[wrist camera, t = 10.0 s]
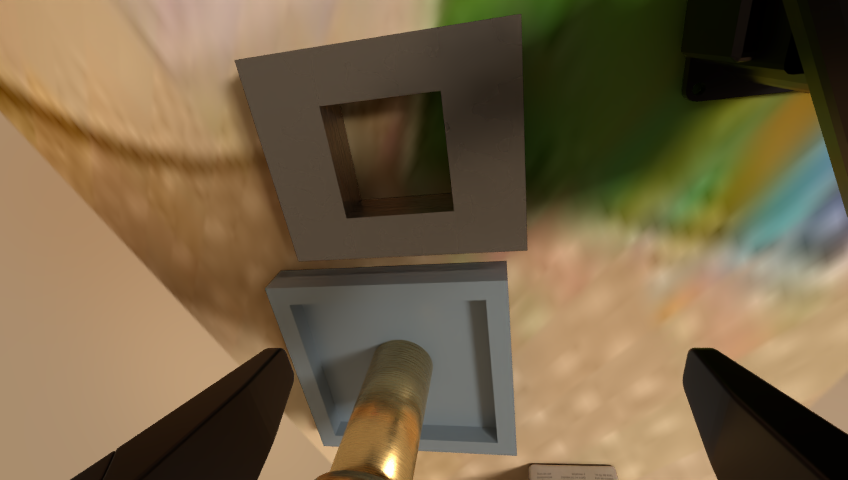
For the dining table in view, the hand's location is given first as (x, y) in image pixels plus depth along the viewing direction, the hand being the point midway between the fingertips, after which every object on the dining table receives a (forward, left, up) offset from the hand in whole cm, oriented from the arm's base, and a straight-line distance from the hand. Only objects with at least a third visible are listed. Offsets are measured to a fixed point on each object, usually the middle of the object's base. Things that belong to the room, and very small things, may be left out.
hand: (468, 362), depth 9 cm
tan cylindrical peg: (+6, +12, -12) cm, 18 cm away
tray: (+6, +12, -13) cm, 19 cm away
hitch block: (+4, -2, -13) cm, 14 cm away
